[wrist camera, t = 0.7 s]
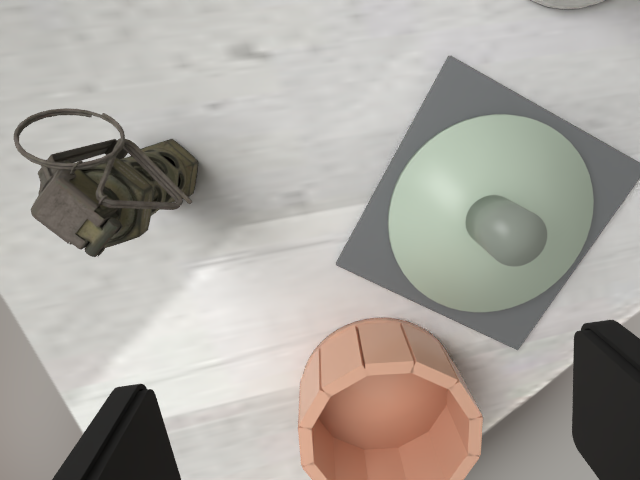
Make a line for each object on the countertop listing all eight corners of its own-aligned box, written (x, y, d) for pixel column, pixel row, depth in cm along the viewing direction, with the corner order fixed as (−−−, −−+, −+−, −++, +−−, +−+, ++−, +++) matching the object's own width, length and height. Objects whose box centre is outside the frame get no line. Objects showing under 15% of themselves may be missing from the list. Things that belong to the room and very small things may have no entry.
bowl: (346, 292, 39) (352, 332, 33) (484, 356, 41) (517, 406, 35) (276, 416, 43) (269, 475, 36) (406, 469, 45) (422, 534, 38)
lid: (454, 75, 34) (482, 71, 28) (628, 172, 36) (686, 186, 30) (352, 259, 38) (359, 288, 32) (514, 336, 40) (546, 374, 35)
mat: (448, 56, 34) (450, 55, 33) (642, 166, 36) (647, 167, 36) (335, 263, 38) (336, 265, 38) (515, 347, 41) (517, 350, 41)
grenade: (232, 165, 36) (178, 211, 22) (186, 219, 37) (106, 296, 23) (139, 84, 34) (13, 76, 20) (94, 143, 35) (-56, 176, 21)
